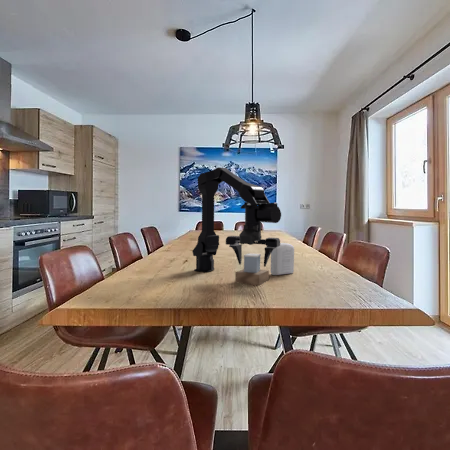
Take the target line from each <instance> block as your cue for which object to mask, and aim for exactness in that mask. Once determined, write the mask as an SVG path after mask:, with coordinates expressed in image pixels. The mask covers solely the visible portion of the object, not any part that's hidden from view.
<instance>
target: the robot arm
mask: <svg viewBox="0 0 450 450" xmlns="http://www.w3.org/2000/svg"><path fill="white" fill-rule="evenodd" d="M222 183H226V185H228V186H229V187H231V188H233V189H234V190H235V191H237V192H238V194H239V198H241V199H242V200H243V201H244V203H243V204H241V206H240V209H241V210H242V209H243V210H244V224H243V230H241V232H240V234H239V235H229V236H227V237H226V238H225V245H226V246H227V245H228V246H229V248H232V249H233V251H234V253H235V256H236V260H237V261H238V262H237V263H238V265H242V260H243V259H242V257H243V255H242V254H243V253H242V250H243V249H242V248H243V247H242V246H243V245H249V246H251V245H266V247H264V257H263V267H266V266H267V263H268V261H269V258H270V257H271V252H272V250H273V249H275V248H276V247H278V246H280V243H281V240H280V237H267V238H265V239H263V238H262V228H263V227H262V226H263V225H262V223H269V224H277V223H279V222H280V220H281V219H282V218H281V217H282V212H281V209H280V207H279V206H278V202H270V200H269V199H268V197H267V195H266V193H265V189H264V188H263V187H262V186H259V185H256V184H253V183H250V182H247V181H245V180H244V179H242V178H241V177H240V176H238V175H237V174H235V173H233V172H232V171H230V170H229V169H228V168H226V167H221V166H220V167H217V168H215V169H212V170H209V171H206V172H202V173H200V174H199V175H198V176H197V188H198V191H199V193H200V194H201V232H200V234H199V235H198V238H197V243H196V245H195V247H194V248H193V249H192V256H194V257H195V258H196V260H195V265H196V266H195V268H194V272H205V273H209V272H212V271H213V270H214V271H215V259H214V256H217V251H218V249H219V246H220V236H219V234H216V232H215V195H216V194H217V192H218V190H219V185H220V184H222Z"/></svg>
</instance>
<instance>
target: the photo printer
mask: <svg viewBox="0 0 450 450" xmlns="http://www.w3.org/2000/svg"><path fill="white" fill-rule="evenodd" d="M294 269H295V247H294V245H293V244H291V243H287V242H280V246H278V247H276V248H275V249H273V250H272V252H271V254H270V274H271V275H273V276H280V275H287V274H293V273H294V271H295V270H294Z"/></svg>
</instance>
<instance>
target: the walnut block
mask: <svg viewBox="0 0 450 450" xmlns="http://www.w3.org/2000/svg"><path fill="white" fill-rule="evenodd" d="M269 276H270V270H268V269H267V270H266V269H260V271H259V272H257V273H251V272H244V268H243V269H241V270H238V271H237V270H236V271H235V279H234V280H235V281H234V282H235V283H237V282H239V284H245V283H246V285H253V286H261V285H262V284H264V282H265V283H266V281H267V282H269V280H270V279H269V278H270V277H269Z"/></svg>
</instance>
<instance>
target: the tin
mask: <svg viewBox="0 0 450 450" xmlns="http://www.w3.org/2000/svg"><path fill="white" fill-rule="evenodd" d="M243 269H244V272H251V273H257V272H259V271H260V270H261V253H250V252H249V253H246V254H243Z"/></svg>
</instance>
